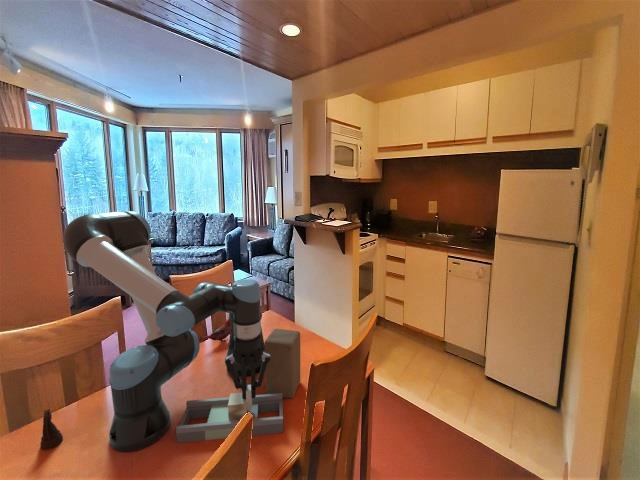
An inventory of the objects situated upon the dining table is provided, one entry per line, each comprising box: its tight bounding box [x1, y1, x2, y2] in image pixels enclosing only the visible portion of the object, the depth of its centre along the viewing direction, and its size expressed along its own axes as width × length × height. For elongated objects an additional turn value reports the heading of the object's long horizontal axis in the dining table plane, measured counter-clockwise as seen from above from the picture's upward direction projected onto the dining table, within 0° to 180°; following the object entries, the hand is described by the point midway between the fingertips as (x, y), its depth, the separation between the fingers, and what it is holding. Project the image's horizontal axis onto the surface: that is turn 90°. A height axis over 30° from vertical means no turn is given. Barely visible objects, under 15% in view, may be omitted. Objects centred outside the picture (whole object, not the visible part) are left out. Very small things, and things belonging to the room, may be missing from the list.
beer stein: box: [224, 311, 265, 378], centre depth 119 cm, size 16×19×25 cm
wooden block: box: [264, 328, 301, 399], centre depth 105 cm, size 10×10×20 cm
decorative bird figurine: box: [199, 318, 231, 344], centre depth 135 cm, size 3×18×10 cm, turn 139°
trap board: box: [175, 393, 284, 444], centre depth 91 cm, size 29×11×4 cm, turn 98°
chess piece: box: [40, 407, 64, 451], centre depth 83 cm, size 5×5×10 cm
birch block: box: [228, 392, 247, 420], centre depth 91 cm, size 5×5×5 cm
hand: (249, 406), depth 92 cm, fingers closed
